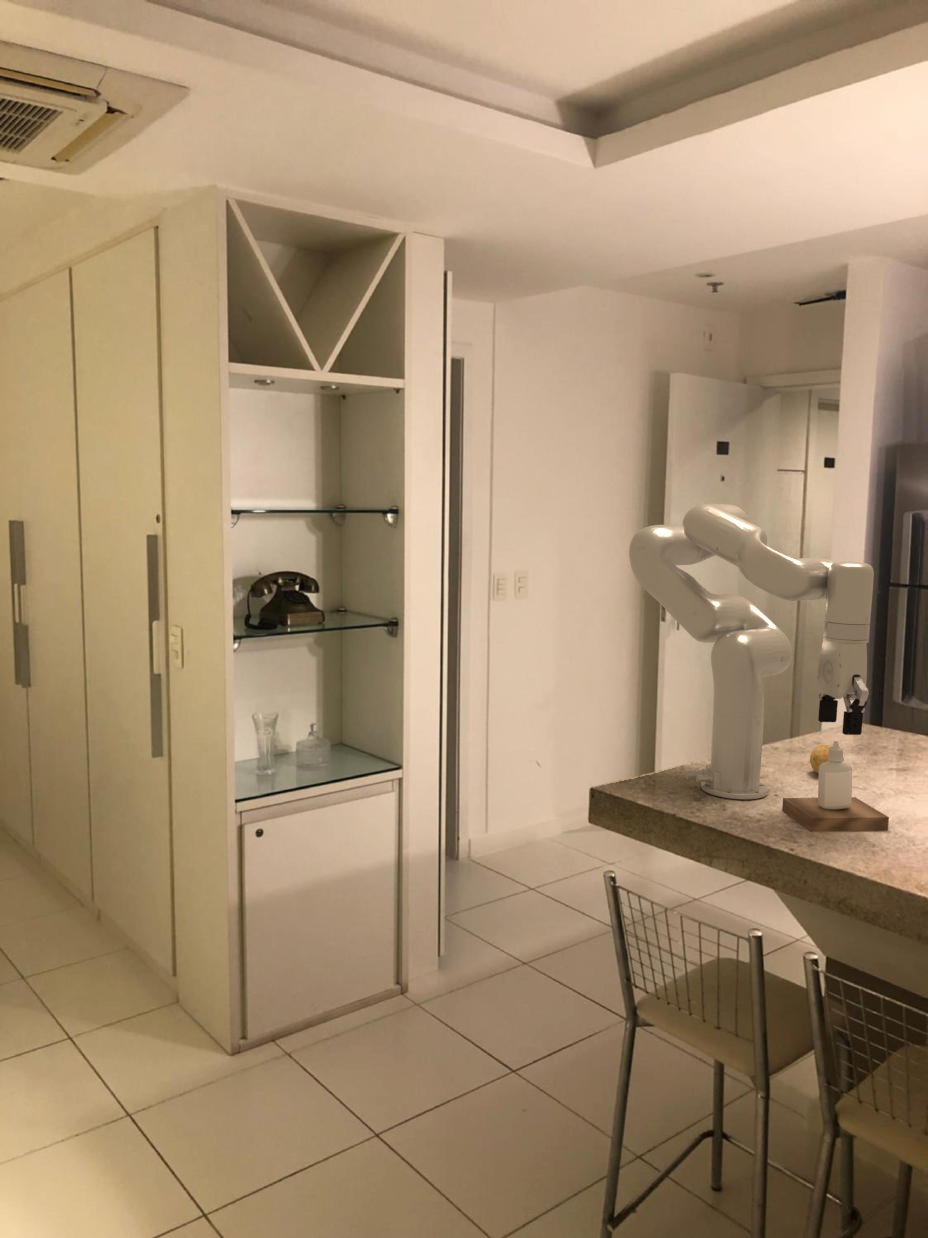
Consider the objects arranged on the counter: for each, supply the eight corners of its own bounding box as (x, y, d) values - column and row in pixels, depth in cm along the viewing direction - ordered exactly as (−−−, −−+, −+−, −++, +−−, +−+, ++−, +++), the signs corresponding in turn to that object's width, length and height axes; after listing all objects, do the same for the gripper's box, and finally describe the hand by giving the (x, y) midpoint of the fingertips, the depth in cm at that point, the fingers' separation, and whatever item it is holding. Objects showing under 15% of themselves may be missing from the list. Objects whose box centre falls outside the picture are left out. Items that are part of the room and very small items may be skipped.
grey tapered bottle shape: (851, 812, 180) (852, 746, 178) (817, 809, 182) (818, 744, 180) (851, 804, 184) (853, 739, 182) (818, 801, 186) (819, 737, 184)
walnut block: (810, 835, 177) (811, 818, 176) (782, 813, 189) (783, 798, 188) (887, 834, 178) (888, 817, 178) (854, 813, 190) (855, 797, 190)
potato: (806, 779, 210) (808, 749, 210) (811, 767, 220) (813, 738, 220) (841, 784, 208) (843, 753, 207) (844, 771, 218) (846, 742, 217)
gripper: (805, 625, 188) (798, 717, 190) (848, 639, 171) (840, 739, 173) (844, 626, 188) (837, 717, 190) (891, 639, 171) (883, 740, 173)
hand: (839, 728), depth 181 cm, fingers open, 9 cm apart
